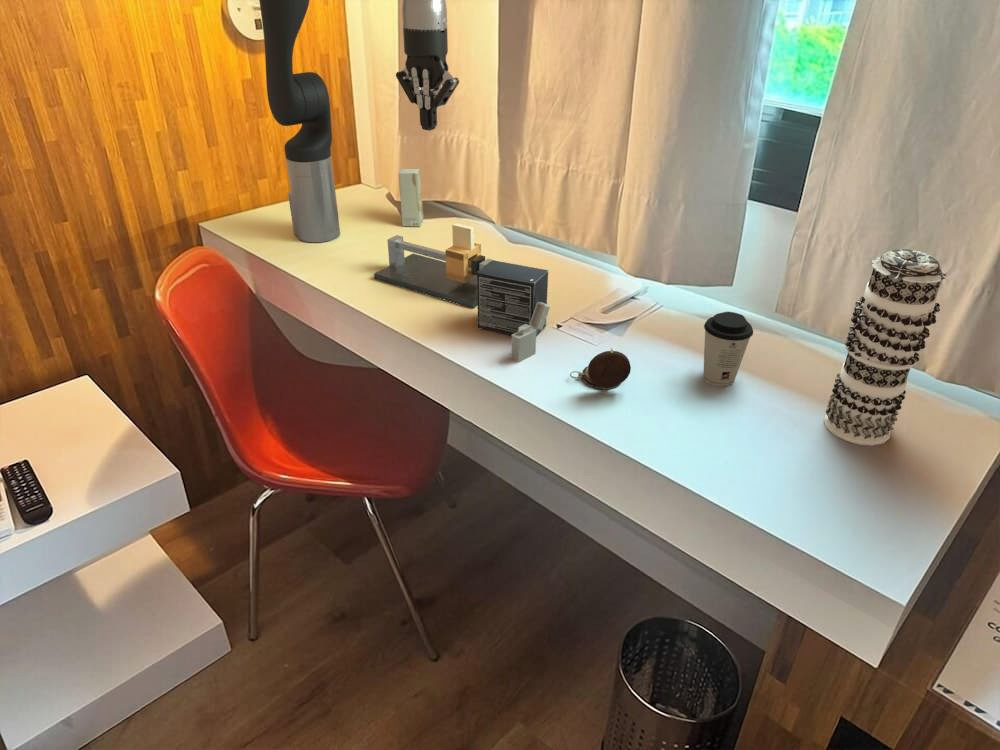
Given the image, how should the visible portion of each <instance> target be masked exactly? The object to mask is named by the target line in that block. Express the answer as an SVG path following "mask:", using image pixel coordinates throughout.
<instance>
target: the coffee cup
mask: <svg viewBox="0 0 1000 750" xmlns="http://www.w3.org/2000/svg"><path fill="white" fill-rule="evenodd" d="M703 328H704V351H703V373H702V377H703V379H704V380H705V382H706V383H708V384H710V385H713V386H716V387H729V386H732V385H733V384H734V383H735V380H736V378H737V375H738V372H739V369H740V366H741V363H742V360H743V358H744V355H745V352H746V350H747V347H748V344H749V342H750V339H751V337H752V336H753V335H754V329H753V327H752V324H751V323H750V322H749V321H748V320H747V319H746V317H745V316H744V315H743V314H742V313H741V314H740V313H738V312H732V311H723V312H719V313H716V314H714V315H713V316H711V317H709V318H708V319H707V320H706V321H705V322H704V325H703Z"/></svg>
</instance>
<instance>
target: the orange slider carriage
mask: <svg viewBox="0 0 1000 750" xmlns="http://www.w3.org/2000/svg"><path fill="white" fill-rule="evenodd" d="M451 229H452V245H451V246H450V247H447V248H446V249H445V252H446V261H445V262H446V278H448V279H451V280H455V281H458V282H462V283H465V282H467V281H469V280H470V279H472V278H474V277H475V276H476V275H472V274H471V268H469V267H468V259H469V258H470V259H474V258H475V257H477V256H479V255H482V244H480V243H476V242H475V228H474V227H472V226H469V225H464V224H461V223H453V224H452V228H451Z"/></svg>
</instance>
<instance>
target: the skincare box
mask: <svg viewBox="0 0 1000 750" xmlns="http://www.w3.org/2000/svg"><path fill="white" fill-rule="evenodd" d="M398 183H399V184H398V185H399V196H400V199H399V200H400V210H401V211H400V212H401V213H400V215H401V226H402V227H421V225H422V223H423V221H424V205H423V197H422V198H421V184H422V178H421V179H420V169H401V168H400V169H399V171H398Z"/></svg>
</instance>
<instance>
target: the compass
mask: <svg viewBox="0 0 1000 750" xmlns="http://www.w3.org/2000/svg"><path fill="white" fill-rule="evenodd" d="M631 369H632V367H631V362H630V360H629V358H628V357H627V355H626V354H624V353H623V352H620V351H617V350H614V349H613V348H610V350H606V351H603V352H601V353H598V354H596V355H595V356H594V357H593V358H592V359H591V360H590V362H589V363H588V366H585V367H584V368H583V369H582V372H581V371H578V370H575V371H571V372H570V373H569V376H570V377H571V378H573V379H580V378H582V380H583V381H584V383H585V384H587V385H589V386H590V387H593V388H597V389H612V388H616V387H618V386H620V385H621V384H622V383H624V382H625V380H627V378H628V377H629V375H630V374H631ZM573 373H577V374H578V377H577V376H573V375H572V374H573Z"/></svg>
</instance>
